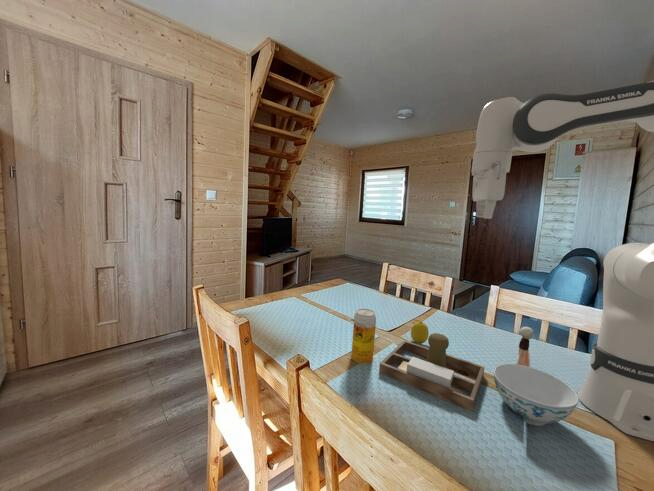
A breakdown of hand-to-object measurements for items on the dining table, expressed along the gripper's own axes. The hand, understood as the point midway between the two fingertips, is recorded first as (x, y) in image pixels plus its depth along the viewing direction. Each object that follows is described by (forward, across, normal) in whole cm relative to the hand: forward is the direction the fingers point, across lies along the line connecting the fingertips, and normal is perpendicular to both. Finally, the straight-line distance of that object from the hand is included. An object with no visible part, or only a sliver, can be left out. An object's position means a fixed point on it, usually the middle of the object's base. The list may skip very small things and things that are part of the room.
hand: (483, 218), depth 77 cm
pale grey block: (+41, -16, +12) cm, 46 cm away
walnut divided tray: (+43, -12, +9) cm, 45 cm away
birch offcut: (+43, -17, +10) cm, 47 cm away
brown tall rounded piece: (+43, -9, +8) cm, 45 cm away
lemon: (+43, +7, +12) cm, 45 cm away
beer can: (+43, -11, +28) cm, 52 cm away
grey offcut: (+39, -17, +10) cm, 44 cm away
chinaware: (+43, -17, -11) cm, 47 cm away
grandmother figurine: (+43, +4, -16) cm, 46 cm away
